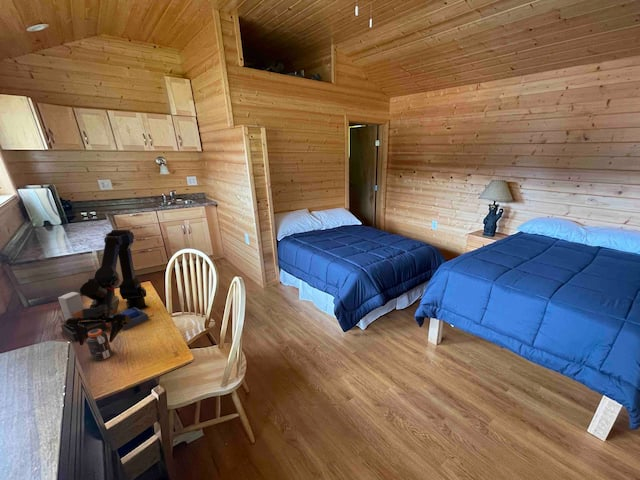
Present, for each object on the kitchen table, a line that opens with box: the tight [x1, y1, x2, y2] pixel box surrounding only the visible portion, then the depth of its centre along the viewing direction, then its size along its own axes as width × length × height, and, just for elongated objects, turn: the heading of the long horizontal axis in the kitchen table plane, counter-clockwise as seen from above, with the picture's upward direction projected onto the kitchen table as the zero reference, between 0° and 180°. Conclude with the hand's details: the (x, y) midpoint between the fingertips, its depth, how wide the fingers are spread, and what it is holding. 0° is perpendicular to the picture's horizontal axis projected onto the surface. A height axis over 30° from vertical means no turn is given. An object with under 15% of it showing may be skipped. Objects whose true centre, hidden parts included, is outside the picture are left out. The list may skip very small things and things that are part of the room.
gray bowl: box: [90, 295, 120, 316], centre depth 141 cm, size 10×10×7 cm
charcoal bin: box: [60, 318, 108, 342], centre depth 128 cm, size 11×11×4 cm
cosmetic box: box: [57, 291, 85, 321], centre depth 134 cm, size 6×4×12 cm
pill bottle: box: [85, 329, 113, 361], centre depth 113 cm, size 6×6×11 cm
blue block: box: [119, 309, 138, 319], centre depth 136 cm, size 4×4×4 cm
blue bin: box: [110, 307, 149, 331], centre depth 137 cm, size 10×10×4 cm
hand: (96, 343), depth 112 cm, fingers open, 9 cm apart
